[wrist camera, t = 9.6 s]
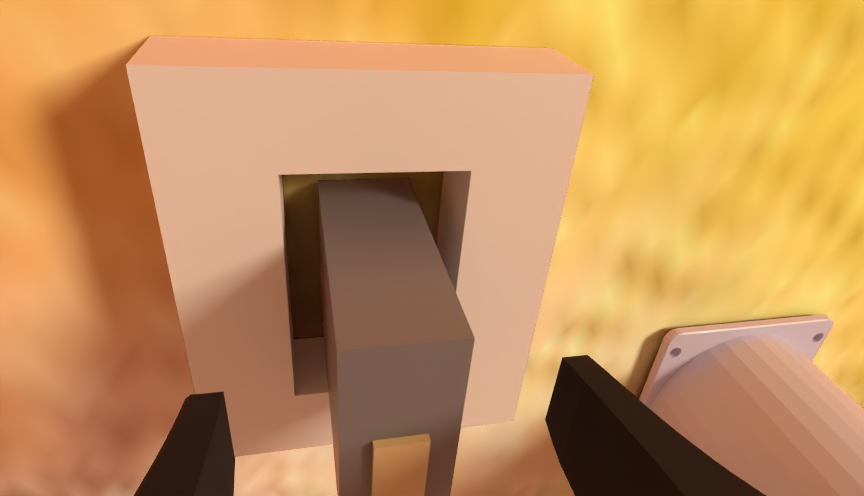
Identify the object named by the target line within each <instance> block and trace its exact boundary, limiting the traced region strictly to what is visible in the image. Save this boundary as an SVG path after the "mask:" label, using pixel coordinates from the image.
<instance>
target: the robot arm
mask: <svg viewBox="0 0 864 496" xmlns="http://www.w3.org/2000/svg"><path fill="white" fill-rule="evenodd" d="M832 326H833V321H832V320H831V319H830V318H829V317H828V316H826V315H824V314H821V315H810V316H799V317H789V318H778V319H768V320H757V321H747V322H736V323H726V324H715V325H705V326H694V327H684V328H676V329H672V330H671V331H669V332H668V333H667V334H666V335H665V336H664V338H663V341H662V343H661V346H660V348H659V351H658V353H657V356H656V358H655V361H654V363H653V366H652V368H651V371H650V373H649V376H648V378H647V381H646V383H645V386H644V388H643V391H642V393H641V396H640V398H639V399H638V398H637V397H635V396H634V395H633V394H632V393H631V392H630V391H628V390H627V389H626V388H625V387H624V386H623V385H622V384H620V383H619V382H618V381H617V380H616V379H615V378H614V377H612V376H611V375H610V374H609V373H608V372H607V371H606V370H604V369H603V368H602V367H601V366H600V365H599V364H597V363H596V362H595V361H594V360H593V359H591V358H590V357H589V356H588V355H584V356H574V357H564V358H562V361H561V365H560V368H559V372H558V376H557V379H556V383H555V386H554V390H553V394H552V397H551V401H550V405H549V408H548V412H547V416H546V419H545V420H546V423H547V427H548V430H549V433H550V436H551V439H552V442H553V445H554V448H555V451H556V453H557V456H558V459H559V462H560V464H561V467H562V469H563V471H564V473H565V475H566V477H567V479H568V481H569V484H570V486H571V488H572V490H573V492H574V494H575V496H864V409H863V408H862V407H861V406H859V405H858V404H857V403H856V402H855V401H854V400H853V399H852V398H851V397H850V396H849V395H847V394H846V393H845V392H844V391H843V390H842V389H841V388H840V387H839V386H838V385H837V384H835V383H834V382H833V381H832V380H831V379H830V378H829V377H828V376H827V375H826V374H825V373H823V372H822V371H821V370H820V369H819V368H818V367H817V366H816V365H815V364H814V363H813V362H812V360H813V358H814V357H815V355H816V353H817V352H818V350H819V348H820V347H821V345H822V343H823V342H824V340H825V338H826V337H827V335H828V333H829V332H830V330H831V328H832ZM234 471H235V456H234V450H233V444H232V438H231V432H230V427H229V421H228V415H227V409H226V403H225V397H224V391H223V392H213V393H203V394H193V395H190V396H189V397H187V398H186V399H185V401H184V403H183V405H182V408H181V410H180V412H179V414H178V416H177V418H176V420H175V423H174V425H173V427H172V429H171V431H170V433H169V434H168V436H167V438H166V440H165V442H164V444H163V446H162V448H161V449H160V451H159V453H158V455H157V457H156V459H155V460H154V462H153V464H152V466H151V467H150V469H149V471H148V472H147V474H146V476H145V478H144V479H143V481H142V483H141V484H140V486H139V488H138V489H137V491H136V493H135V495H134V496H233V494H234Z"/></svg>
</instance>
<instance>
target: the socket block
mask: <svg viewBox="0 0 864 496" xmlns="http://www.w3.org/2000/svg"><path fill="white" fill-rule="evenodd" d="M126 69H127V74H128V79H129V83H130V88H131V93H132V98H133V102H134V107H135V112H136V117H137V121H138V126H139V131H140V136H141V140H142V145H143V150H144V155H145V159H146V164H147V169H148V174H149V178H150V183H151V188H152V193H153V197H154V202H155V207H156V212H157V216H158V221H159V226H160V231H161V235H162V240H163V245H164V250H165V254H166V259H167V264H168V269H169V273H170V278H171V283H172V288H173V292H174V297H175V302H176V307H177V311H178V316H179V321H180V326H181V330H182V335H183V340H184V345H185V349H186V354H187V359H188V364H189V368H190V373H191V378H192V383H193V387H194V392H195V394H203V393H213V392H223V391H224V397H225V403H226V409H227V415H228V421H229V427H230V432H231V438H232V444H233V450H234V456H235V457H236V456H244V455H252V454H260V453H267V452H275V451H283V450H291V449H299V448H306V447H314V446H322V445H330V444H333V437H332V426H331V414H330V403H329V391H328V380H327V368H326V357H325V346H324V337H315V338H304V339H293V325H292V311H291V297H290V283H289V269H288V255H287V241H286V227H285V213H284V198H283V184H282V175H289V174H336V173H384V172H432V171H444V172H443V182H442V193H441V203H440V213H439V223H438V233H437V243H436V246H437V248H438V251H439V253H440V256H441V258H442V260H443V263H444V265H445V268H446V270H447V272H448V275H449V277H450V280H451V282H452V285H453V287H454V289H455V292H456V294H457V297H458V299H459V301H460V304H461V306H462V309H463V311H464V313H465V316H466V318H467V321H468V323H469V325H470V328H471V330H472V333H473V335H474V337H475V341H474V347H473V353H472V360H471V366H470V372H469V379H468V385H467V391H466V397H465V404H464V410H463V416H462V423H461V428H463V427H471V426H479V425H486V424H494V423H502V422H510V421H514V417H515V412H516V408H517V404H518V400H519V395H520V391H521V387H522V382H523V378H524V374H525V369H526V365H527V361H528V357H529V352H530V348H531V344H532V339H533V335H534V331H535V326H536V322H537V318H538V313H539V309H540V305H541V301H542V296H543V292H544V288H545V283H546V279H547V275H548V270H549V266H550V262H551V258H552V253H553V249H554V245H555V240H556V236H557V232H558V227H559V223H560V219H561V214H562V210H563V206H564V202H565V197H566V193H567V189H568V184H569V180H570V176H571V171H572V167H573V163H574V159H575V154H576V150H577V146H578V141H579V137H580V133H581V128H582V124H583V120H584V115H585V111H586V107H587V103H588V98H589V94H590V90H591V85H592V81H593V77H594V74H592V73H591V72H589V71H588V70H586V69H585V68H583V67H581V66H580V65H578V64H577V63H575V62H574V61H572V60H570V59H569V58H567V57H566V56H564V55H562V54H561V53H559V52H558V51H556V50H555V49H553V48H534V47H502V46H471V45H439V44H407V43H375V42H343V41H311V40H279V39H247V38H216V37H184V36H152V35H151V36H150V37H149V38H148V39H147V40H146V42H145V43H144V44H143V45H142V46H141V47H140V49H139V50H138V51H137V52H136V53H135V55H134V56H133V57H132V58H131V59H130V60H129V62H128V63H127V64H126Z"/></svg>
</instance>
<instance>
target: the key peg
mask: <svg viewBox="0 0 864 496" xmlns="http://www.w3.org/2000/svg"><path fill="white" fill-rule="evenodd" d="M318 204H319V234H320V264H321V294H322V323H323V334H324V346H325V357H326V368H327V380H328V391H329V403H330V414H331V426H332V437H333V448H334V460H335V471H336V483H337V494H338V496H450V492H451V485H452V479H453V473H454V467H455V460H456V454H457V448H458V441H459V435H460V429H461V423H462V416H463V410H464V404H465V397H466V391H467V385H468V379H469V372H470V366H471V360H472V353H473V347H474V341H475V337H474V335H473V333H472V330H471V328H470V325H469V323H468V321H467V318H466V316H465V313H464V311H463V309H462V306H461V304H460V301H459V299H458V297H457V294H456V292H455V289H454V287H453V285H452V282H451V280H450V277H449V275H448V272H447V270H446V268H445V265H444V263H443V260H442V258H441V256H440V253H439V251H438V248H437V246H436V244H435V241H434V239H433V236H432V234H431V232H430V229H429V227H428V224H427V222H426V220H425V217H424V215H423V212H422V210H421V208H420V205H419V203H418V200H417V198H416V195H415V193H414V191H413V188H412V186H411V183H410V181H409V179H408V178H392V179H350V180H318Z"/></svg>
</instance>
